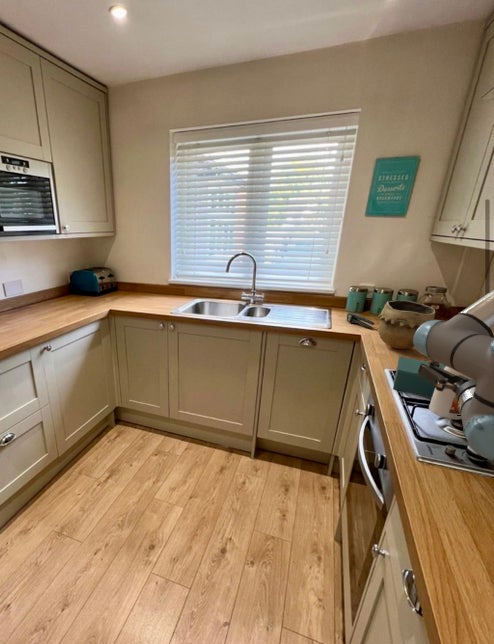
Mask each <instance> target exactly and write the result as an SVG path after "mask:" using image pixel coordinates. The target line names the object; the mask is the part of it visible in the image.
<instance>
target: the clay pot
mask: <svg viewBox="0 0 494 644" xmlns="http://www.w3.org/2000/svg"><path fill="white" fill-rule="evenodd" d="M435 315H436V310H435V308H433V307H431V306H429V305H426V304H423V303H419V302H415V301H412V300H404V299H395V300H387V301H386V303H385V304H384V306H383V309H382V310H381V312H380V314H379V315H378V316H377V317H378V318H379V320H380V322H379V325H378V327H377V328H378V335H379V338H380V339H381V341H382V342H383V343H384V344H386V345H387V346H389V347H391V348H394V349H400V350H409V349H413V348H415V346H414V343H413V339H414V335H415V332H416V331H417V329H418V328H419V327H420V326H421V325H422V324H424V323H425V322H427V321H431V320H435V317H436V316H435Z"/></svg>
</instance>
